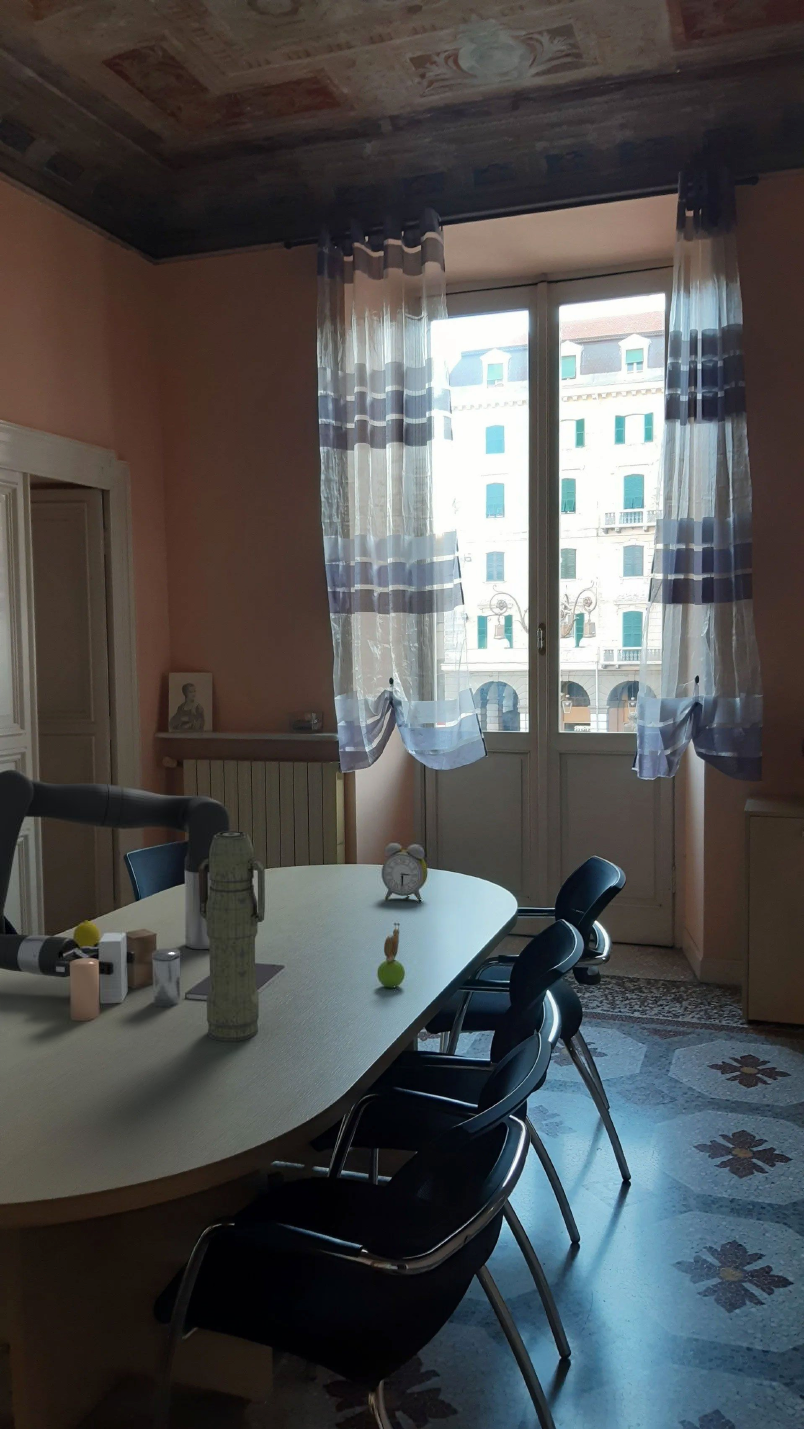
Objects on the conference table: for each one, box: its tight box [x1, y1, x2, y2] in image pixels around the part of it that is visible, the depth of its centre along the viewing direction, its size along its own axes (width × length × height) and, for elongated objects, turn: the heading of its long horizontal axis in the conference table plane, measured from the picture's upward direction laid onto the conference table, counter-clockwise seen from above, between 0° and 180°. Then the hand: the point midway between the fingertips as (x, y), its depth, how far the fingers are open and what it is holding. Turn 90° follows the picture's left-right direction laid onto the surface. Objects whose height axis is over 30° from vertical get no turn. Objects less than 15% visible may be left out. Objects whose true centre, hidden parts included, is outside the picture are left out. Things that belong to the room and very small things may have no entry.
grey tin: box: [152, 948, 181, 1008], centre depth 199 cm, size 5×5×10 cm
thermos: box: [198, 830, 266, 1043], centre depth 183 cm, size 9×12×35 cm
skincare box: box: [99, 932, 129, 1004], centre depth 201 cm, size 6×4×12 cm
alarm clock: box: [381, 842, 428, 901], centre depth 281 cm, size 12×7×15 cm, turn 73°
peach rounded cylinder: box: [69, 958, 100, 1022], centre depth 192 cm, size 5×5×10 cm
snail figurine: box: [376, 922, 406, 988], centre depth 209 cm, size 5×6×12 cm
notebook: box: [184, 962, 285, 1001], centre depth 211 cm, size 13×2×21 cm
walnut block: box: [123, 928, 158, 989], centre depth 211 cm, size 5×5×10 cm
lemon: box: [72, 920, 101, 948], centre depth 229 cm, size 6×6×8 cm
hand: (123, 963), depth 201 cm, fingers closed on skincare box, 7 cm apart
